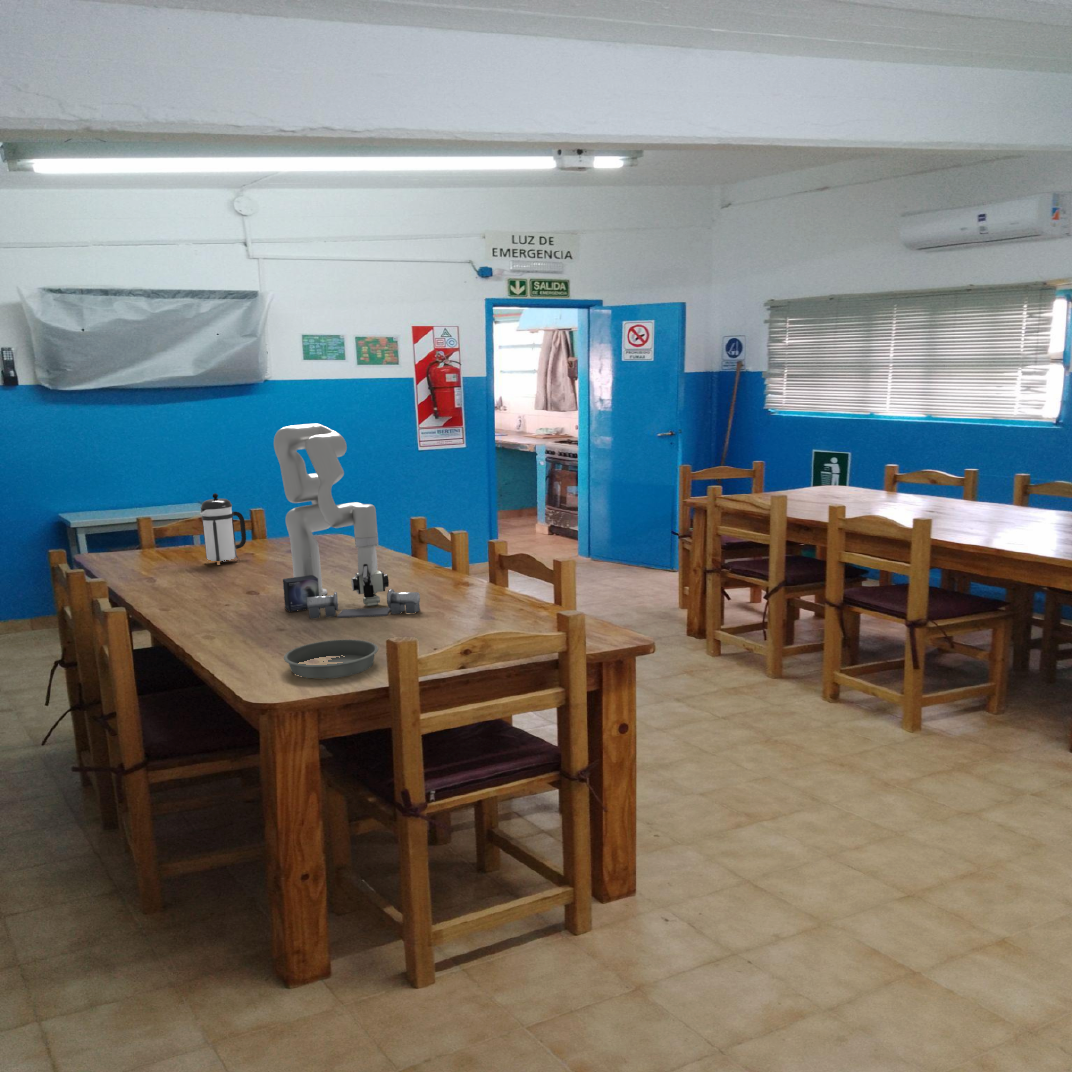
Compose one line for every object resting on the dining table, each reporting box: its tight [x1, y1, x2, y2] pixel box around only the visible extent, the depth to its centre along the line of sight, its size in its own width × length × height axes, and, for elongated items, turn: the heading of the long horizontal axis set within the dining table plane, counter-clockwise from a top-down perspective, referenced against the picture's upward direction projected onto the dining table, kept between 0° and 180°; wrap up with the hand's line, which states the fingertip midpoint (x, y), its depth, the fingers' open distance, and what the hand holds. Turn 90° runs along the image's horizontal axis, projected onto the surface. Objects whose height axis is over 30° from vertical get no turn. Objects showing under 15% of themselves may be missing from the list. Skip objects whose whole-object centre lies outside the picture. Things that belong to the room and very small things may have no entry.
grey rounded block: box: [386, 588, 421, 615], centre depth 331 cm, size 9×6×8 cm, turn 78°
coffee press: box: [199, 492, 247, 562], centre depth 439 cm, size 17×16×30 cm
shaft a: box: [307, 591, 339, 619], centre depth 332 cm, size 9×6×8 cm, turn 98°
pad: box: [336, 606, 391, 619], centre depth 333 cm, size 16×9×1 cm, turn 88°
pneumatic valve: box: [351, 570, 390, 607], centre depth 344 cm, size 6×12×12 cm, turn 108°
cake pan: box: [283, 639, 379, 680], centre depth 273 cm, size 25×25×4 cm
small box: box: [282, 575, 319, 613], centre depth 344 cm, size 11×6×10 cm, turn 117°
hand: (370, 594), depth 344 cm, fingers closed on pneumatic valve, 5 cm apart
